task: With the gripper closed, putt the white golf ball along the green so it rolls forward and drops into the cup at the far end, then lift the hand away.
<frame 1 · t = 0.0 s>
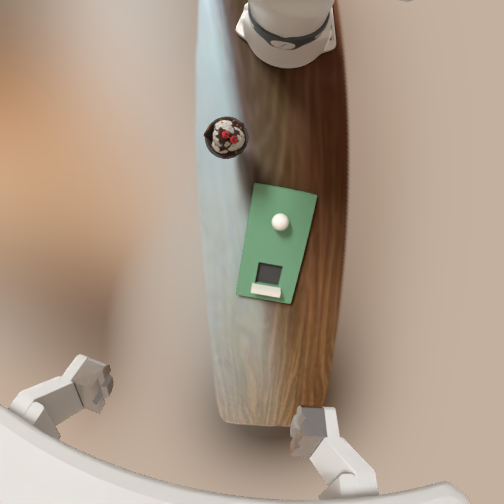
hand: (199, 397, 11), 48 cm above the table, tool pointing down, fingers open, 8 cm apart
sundae: (235, 137, 52), on the table
ball: (280, 222, 55), point 3 cm above the table, touching green
green: (274, 246, 59), on the table
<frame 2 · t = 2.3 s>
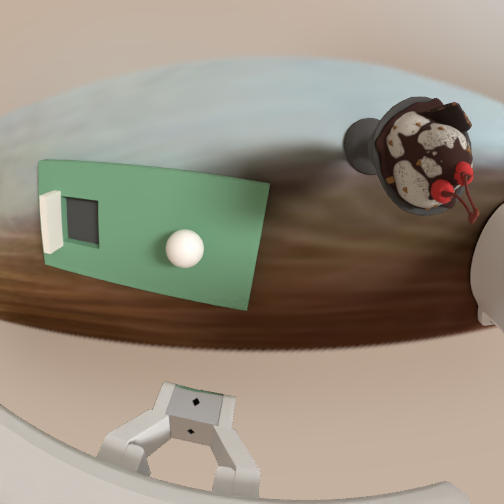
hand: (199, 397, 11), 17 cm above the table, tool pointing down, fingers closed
sundae: (371, 146, 22), on the table
ball: (184, 248, 24), point 3 cm above the table, touching green
green: (134, 227, 27), on the table
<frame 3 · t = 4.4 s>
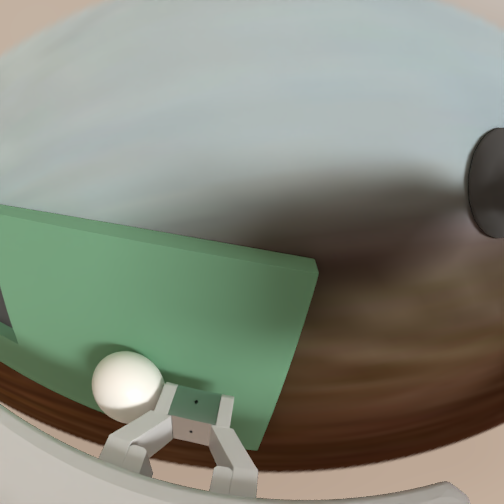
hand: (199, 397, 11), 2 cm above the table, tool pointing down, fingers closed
sundae: (503, 184, 9), on the table
ball: (128, 387, 10), point 3 cm above the table, tilted 14°, touching green, gripper
green: (59, 318, 13), on the table
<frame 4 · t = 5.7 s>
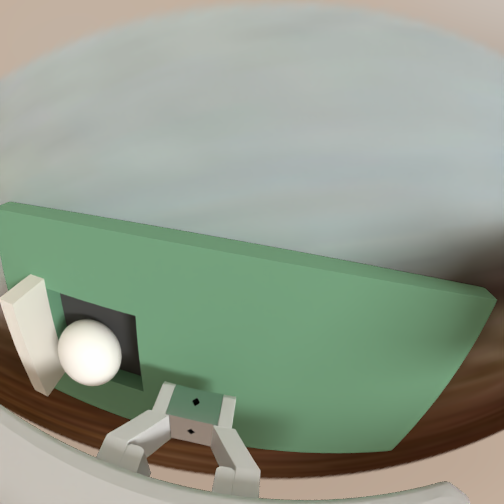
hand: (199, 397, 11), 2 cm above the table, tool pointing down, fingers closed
ball: (89, 352, 12), point 2 cm above the table, tilted 73°, touching green
green: (218, 359, 13), on the table
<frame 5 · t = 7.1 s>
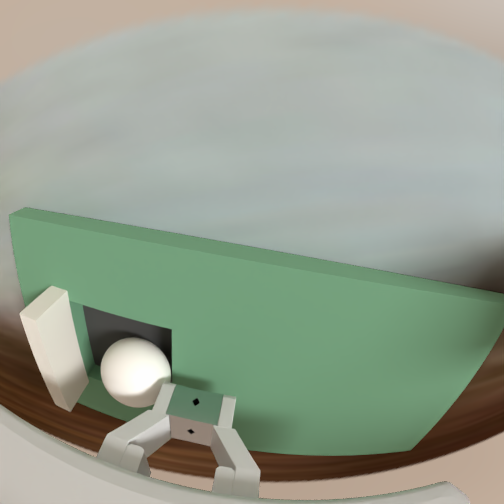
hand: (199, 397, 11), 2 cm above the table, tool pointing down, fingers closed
ball: (135, 372, 11), point 2 cm above the table, tilted 45°, touching green, gripper
green: (252, 368, 13), on the table
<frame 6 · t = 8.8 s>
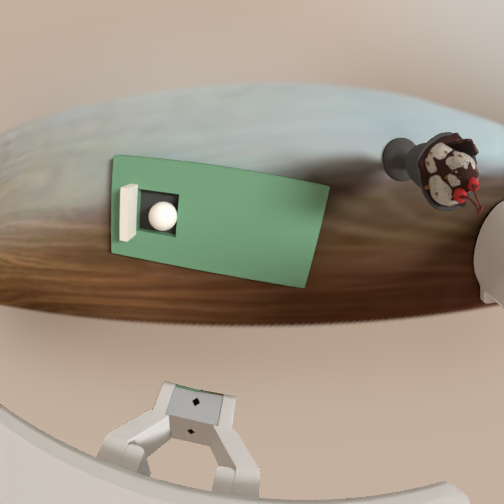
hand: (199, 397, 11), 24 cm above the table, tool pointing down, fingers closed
sundae: (401, 159, 29), on the table
ball: (162, 216, 31), point 2 cm above the table, tilted 43°, touching green
green: (210, 218, 33), on the table
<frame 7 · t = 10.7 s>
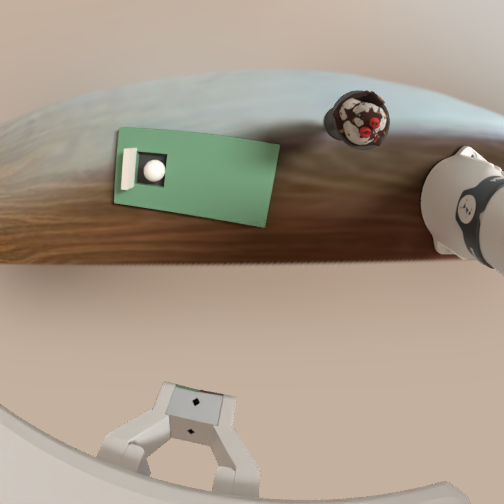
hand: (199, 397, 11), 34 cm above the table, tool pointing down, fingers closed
sundae: (341, 123, 37), on the table
ball: (154, 170, 40), point 2 cm above the table, tilted 44°, touching green
green: (190, 172, 41), on the table
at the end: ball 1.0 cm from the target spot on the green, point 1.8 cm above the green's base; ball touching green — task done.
